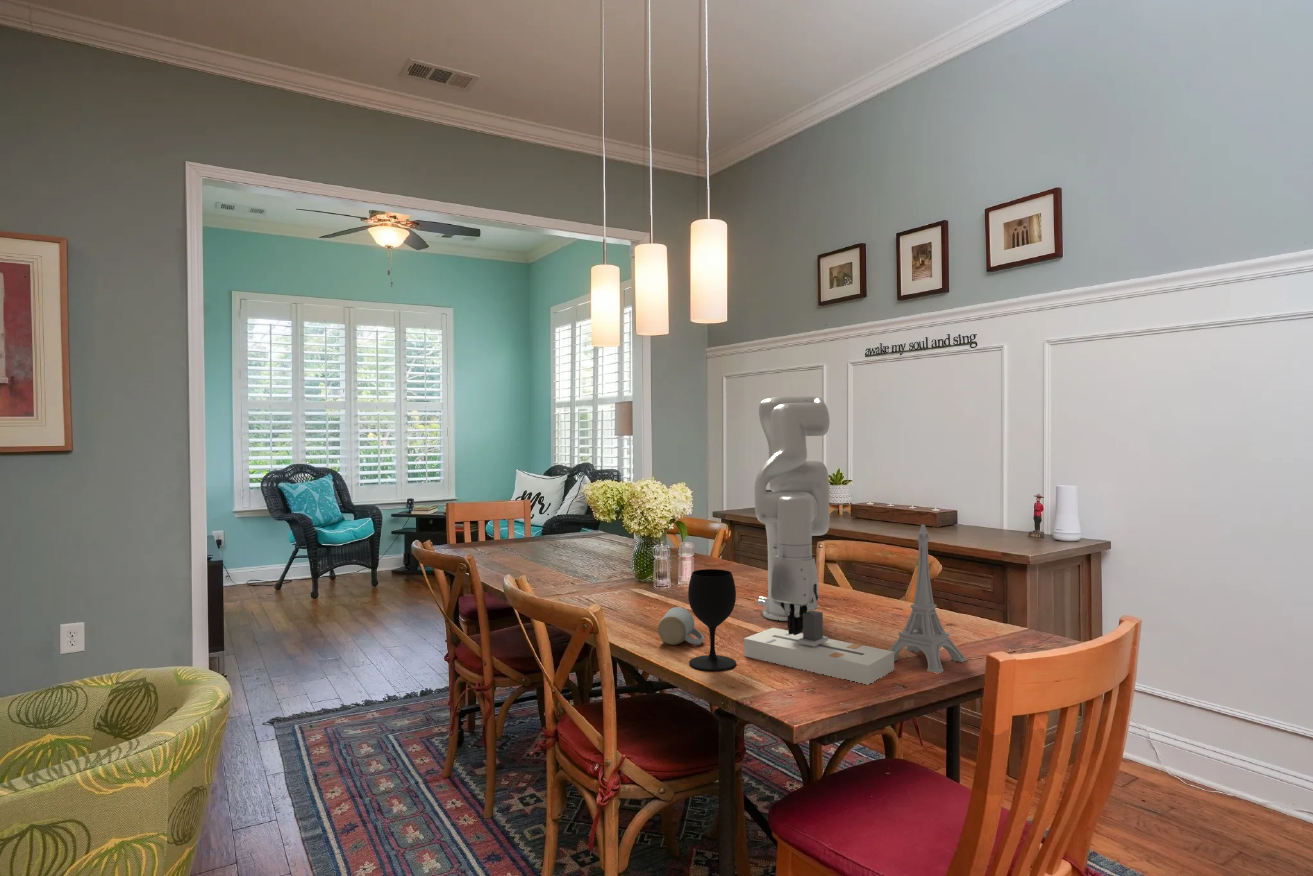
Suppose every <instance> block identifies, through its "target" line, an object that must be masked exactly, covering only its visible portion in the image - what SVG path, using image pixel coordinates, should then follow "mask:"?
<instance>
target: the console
mask: <svg viewBox="0 0 1313 876" xmlns="http://www.w3.org/2000/svg"><path fill="white" fill-rule="evenodd" d="M800 638H803V632H802V633H800V634H797V635H793V634H789V630H788V629H783V628H777V627H770V628H768V629H765V630H763V631H761V632H758V633H754V634H751V635H750V636H747V637H743V657H747V658H750V659H751V658H752V659H754V660H760V661H762V662H763V661H764V662H767V661H768V662H767V663H772V664H775V663H776V664H777V665H781V666H784V665H785V666H784V667H789V668H792V667H793V669H798V670H801V669H802V670H801V671H805V670H807V671H806V672H809V671H810V673H813V672H815V673H814V674H818V675H822V674H824V675H823V676H826V675H827V677H830V676H832V678H835V677H836V679H839V678H842V679H841V680H843V679H847V680H850V681H849V682H852V681H855V682H854V683H856V682H858V683H857V684H860V683H863V684H862V685H864V684H866V686H870V685H871V684H870V683H872V684H873V683H875V682H876V680H877V679H879V678H880V679H882V678H883V676H884V677H886V676H887V675H889V674H890V673H889V672H891V671H892V672H893V670H894V671H895V662H894V652H893V651H889V649H882V648H877V647H872V646H867V645H863V644H857V643H851V642H847V641H842V640H838V639H832V638H828V641H826V642H824V643H821V644H819V645H817V646H815V647H814V646H809V645H804V644H799V643H798V639H800ZM892 672H891V673H892ZM888 673H889V674H888ZM886 674H887V675H886ZM880 679H879V680H880ZM847 680H846V681H847ZM874 681H875V682H874ZM877 681H878V680H877ZM869 684H870V685H869Z"/></svg>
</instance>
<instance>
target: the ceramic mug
mask: <svg viewBox="0 0 1313 876" xmlns="http://www.w3.org/2000/svg"><path fill="white" fill-rule="evenodd" d="M691 613H692V612H690V611H689V610H688V609H686V608H685V607H681V606H675V607H672V608H670V609H669V610H668V611H667V612H666V613H665V614H664V616H663V617H662V618H661V620H660V622H659V623H658V628H657V634H658V635H659V638H660V640H661V641H662V642H663V643H664V644H667V645H669V646H676V645H679V644H681V643H684V641H685V642H686V643H688V644H692V645H696V646H699V645H701V644H702V643H703V641H704V640H705V639H704V638H705V637H704V635H703V633H702V632H701V631H699V629H697V628H695V618H694V616H693V615H692V614H691ZM690 635H693V636H695V637H696V638H695V637H692V636H690Z"/></svg>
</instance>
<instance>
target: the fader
mask: <svg viewBox="0 0 1313 876" xmlns="http://www.w3.org/2000/svg"><path fill="white" fill-rule="evenodd" d="M823 616H824V615H823V611H817V610H811V611H808V612H805V613H803V630H802V633H803V638H800V639H798V643H799V644H804V645H809V646H814V647H815V646H817V645H819V644H821V643H824V642H826V641H828V639H829V636H825V635H824V624H823V623H824V618H823Z"/></svg>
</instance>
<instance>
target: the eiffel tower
mask: <svg viewBox="0 0 1313 876" xmlns="http://www.w3.org/2000/svg"><path fill="white" fill-rule="evenodd" d="M929 537H930V535H929V531H928V530H927V528H926V524H921V525H920V528H919V531H918V532H917V538H916V540H917V543H918V560H917V561H918V563H917V576H916V584H915V592H914V599H913V604H910V608H911V611H910V615H909V616H908V619H907V621H906V624H905V626H904V629H903V630H902V631H900V632H898V634H897V635H898V636H899V637H898V638H897V639H896V641H895V642H894V643H893V644H892V645H891V647H890V648H889V649H888V651H893V652H894V661H895V662H897V661H899V658H898V656H899V654H900V652H901V651H902V650H903V649H906V650H905V651H907V650H908V651H909V652H912V651H913V652H912V653H918V652H921V651H922V652H923V654H924V655H925V657H926V661H927V669H926V670H927V671H930V672H929V673H931V672H936V673H938V674H937V675H939V673H940V672H942V673H944V672H945V671H944V670H945V669H944V668H943V666H942V662H941V657H940V656H941V655H940V653H941V648H943V649H945V650H946V651H947V653H948V654H949V656H950V658H949V660H950V661H951V660H954V661H953V662H956V661H960V662H963V661H965V662H967V661H968V658H966V657H965V656H964V654H963V653H962V652H961V650H960V649H959V648H958V647H957V646H956V644H955V643H954V642H953V640H951V639H950V637H949V636H950V632H947V631H945V629H944V627H943V625H942V623H941V621H940V618H939V616H938V613H937V610H936V608H938V607H937V604H935V602H934V598H933V590H932V584H931V576H930V575H931V573H930V565H929V564H930V563H929V562H930V561H929V548H928V544H929V541H930V539H931V538H929ZM908 651H907V652H908ZM896 660H897V661H896ZM966 660H967V661H966ZM960 662H959V663H960ZM963 663H964V662H963ZM927 671H926V672H927ZM943 671H944V672H943ZM936 673H935V674H936ZM940 674H941V673H940Z"/></svg>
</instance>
